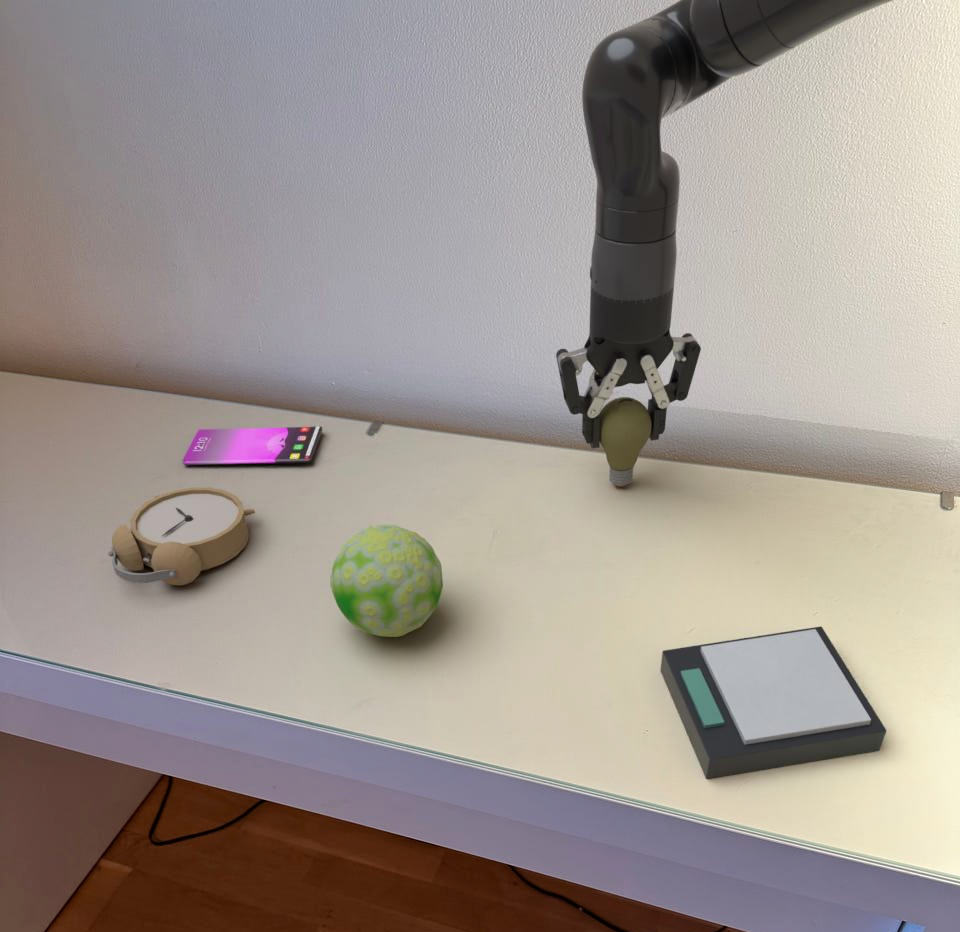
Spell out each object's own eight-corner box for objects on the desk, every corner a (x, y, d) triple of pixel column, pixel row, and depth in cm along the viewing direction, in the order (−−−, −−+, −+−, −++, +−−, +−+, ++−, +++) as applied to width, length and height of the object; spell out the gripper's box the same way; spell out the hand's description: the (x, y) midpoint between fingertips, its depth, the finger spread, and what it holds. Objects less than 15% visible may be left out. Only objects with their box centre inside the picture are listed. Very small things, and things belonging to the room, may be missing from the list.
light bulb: (620, 463, 105) (624, 380, 98) (658, 484, 102) (665, 400, 95) (583, 484, 103) (585, 400, 96) (620, 506, 100) (625, 421, 93)
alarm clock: (268, 501, 98) (164, 564, 87) (272, 544, 101) (172, 610, 90) (184, 476, 102) (74, 533, 91) (190, 518, 105) (85, 578, 94)
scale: (816, 645, 83) (823, 620, 81) (879, 750, 75) (889, 725, 73) (660, 670, 82) (662, 645, 80) (706, 779, 74) (710, 754, 72)
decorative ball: (457, 592, 91) (449, 506, 84) (431, 666, 84) (421, 579, 77) (358, 582, 93) (342, 497, 86) (325, 654, 86) (305, 568, 79)
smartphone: (311, 466, 108) (310, 459, 107) (182, 466, 109) (180, 460, 108) (324, 431, 113) (322, 425, 112) (200, 432, 114) (198, 426, 114)
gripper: (564, 306, 84) (562, 469, 95) (723, 286, 85) (702, 450, 96) (546, 271, 89) (546, 430, 101) (695, 253, 90) (679, 412, 102)
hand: (623, 439), depth 99 cm, fingers closed on light bulb, 5 cm apart
